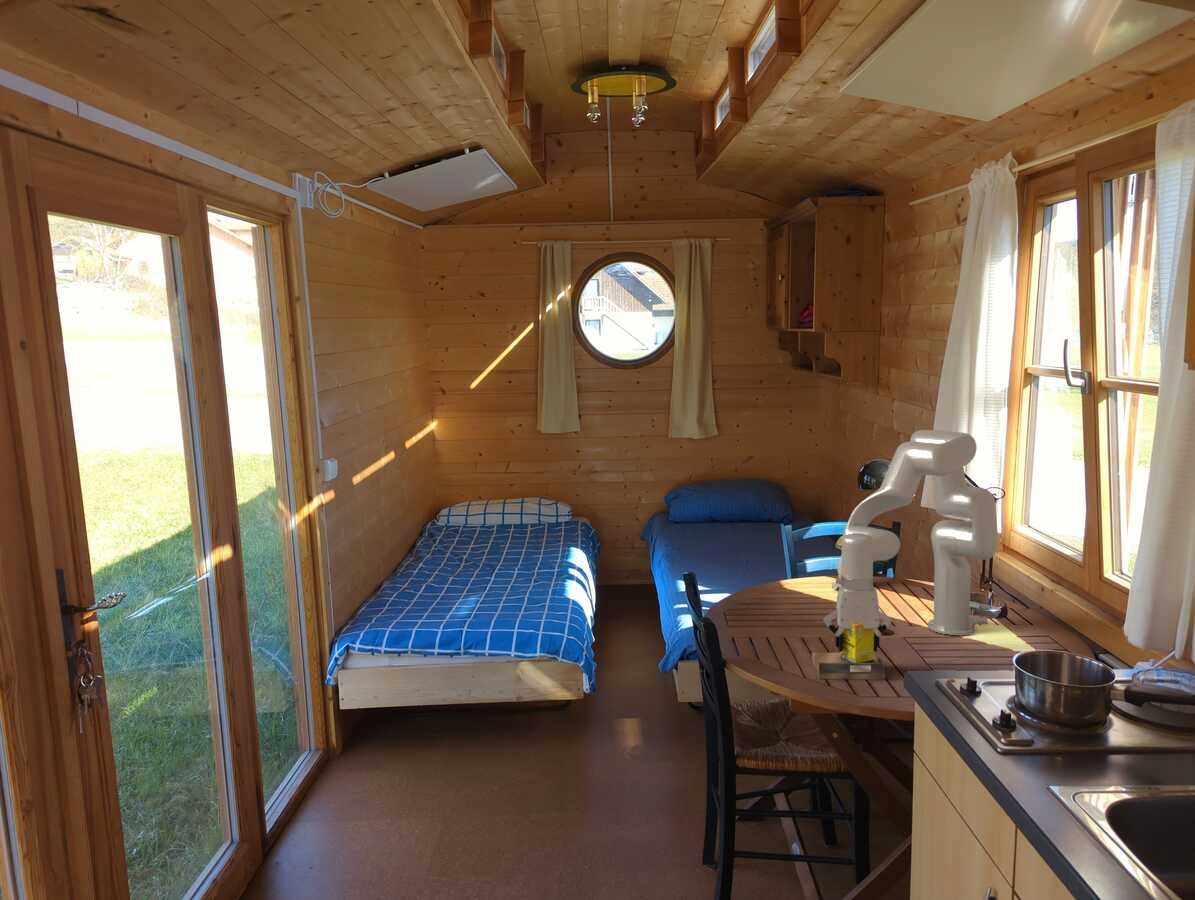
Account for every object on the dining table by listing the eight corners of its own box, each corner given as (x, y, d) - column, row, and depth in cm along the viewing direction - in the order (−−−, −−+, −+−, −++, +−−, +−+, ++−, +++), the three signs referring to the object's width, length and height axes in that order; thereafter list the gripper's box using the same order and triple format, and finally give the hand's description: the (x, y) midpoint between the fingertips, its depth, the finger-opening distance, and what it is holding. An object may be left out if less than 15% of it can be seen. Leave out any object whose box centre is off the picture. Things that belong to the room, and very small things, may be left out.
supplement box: (840, 659, 222) (839, 617, 221) (858, 654, 224) (858, 614, 223) (855, 666, 217) (855, 624, 215) (874, 662, 219) (874, 620, 217)
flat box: (873, 658, 229) (874, 643, 228) (885, 679, 215) (885, 664, 215) (812, 658, 231) (812, 643, 230) (819, 679, 217) (819, 663, 216)
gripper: (823, 587, 215) (824, 655, 218) (896, 587, 213) (895, 655, 215) (819, 578, 222) (820, 644, 225) (889, 578, 220) (889, 644, 223)
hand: (857, 649), depth 220 cm, fingers closed on supplement box, 8 cm apart
